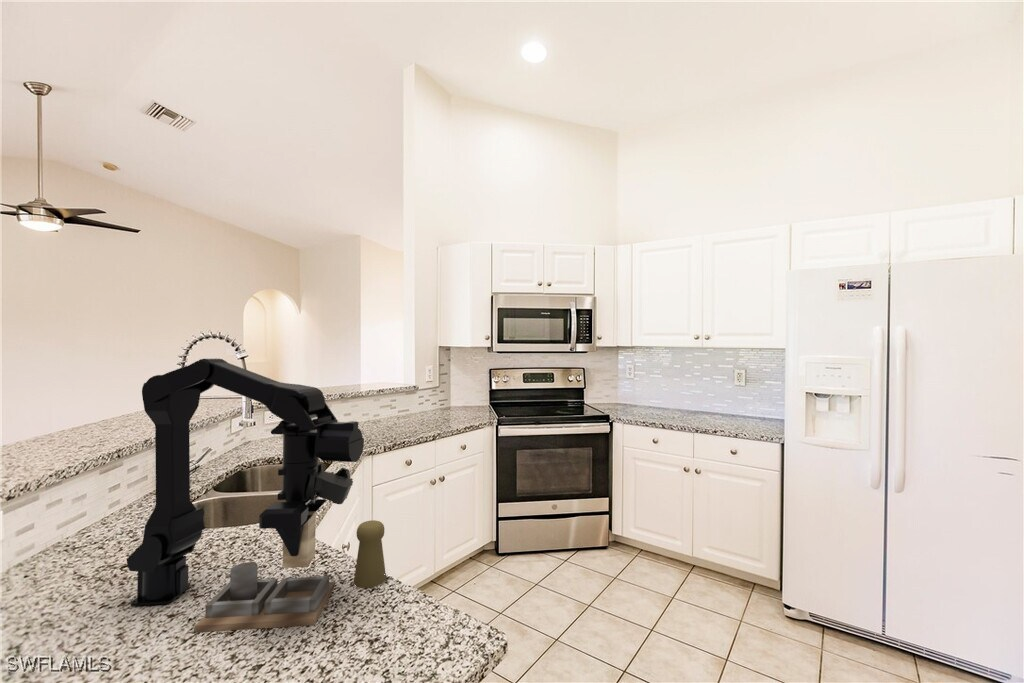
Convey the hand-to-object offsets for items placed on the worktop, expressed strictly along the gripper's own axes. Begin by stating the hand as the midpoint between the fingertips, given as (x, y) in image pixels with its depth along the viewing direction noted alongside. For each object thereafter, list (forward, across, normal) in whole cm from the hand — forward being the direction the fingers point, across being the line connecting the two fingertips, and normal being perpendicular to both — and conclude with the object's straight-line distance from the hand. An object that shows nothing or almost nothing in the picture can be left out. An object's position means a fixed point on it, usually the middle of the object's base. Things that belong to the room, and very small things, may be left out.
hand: (299, 550), depth 79 cm
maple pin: (+2, 0, 0) cm, 2 cm away
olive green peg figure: (+10, +8, -11) cm, 16 cm away
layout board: (+10, 0, +4) cm, 10 cm away
